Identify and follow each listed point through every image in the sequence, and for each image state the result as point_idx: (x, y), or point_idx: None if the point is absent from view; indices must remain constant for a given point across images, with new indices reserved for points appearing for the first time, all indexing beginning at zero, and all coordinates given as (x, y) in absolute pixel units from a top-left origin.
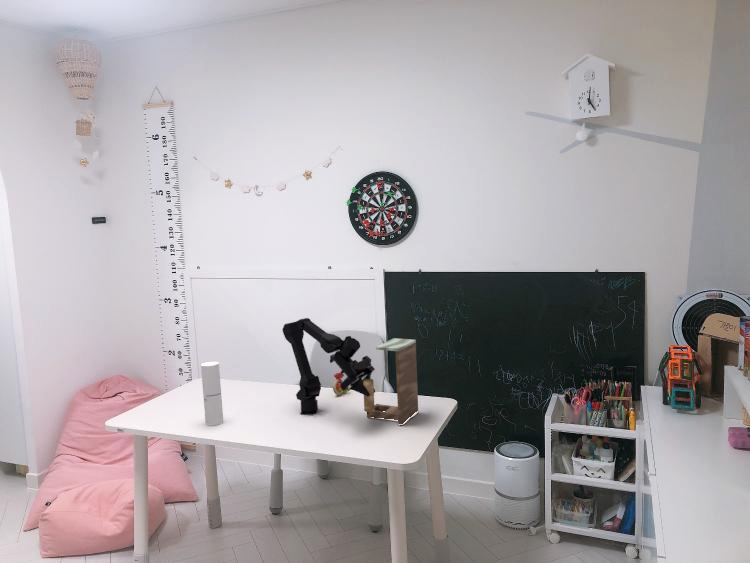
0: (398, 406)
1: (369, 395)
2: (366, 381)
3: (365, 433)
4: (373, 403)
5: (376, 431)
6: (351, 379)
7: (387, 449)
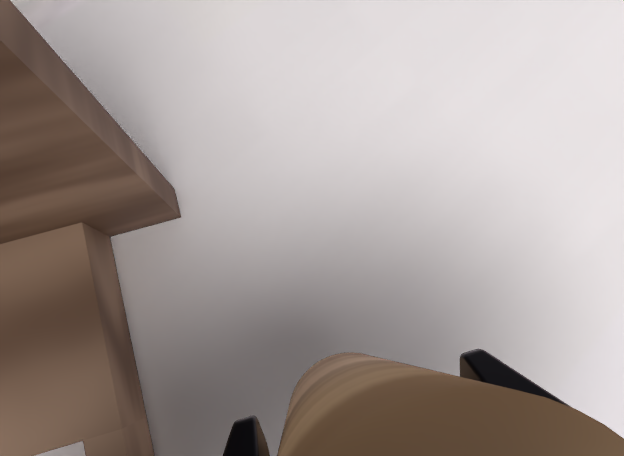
0: (121, 149)
1: (476, 353)
2: None
3: (464, 318)
4: (344, 357)
5: (377, 276)
6: None
7: (552, 4)
